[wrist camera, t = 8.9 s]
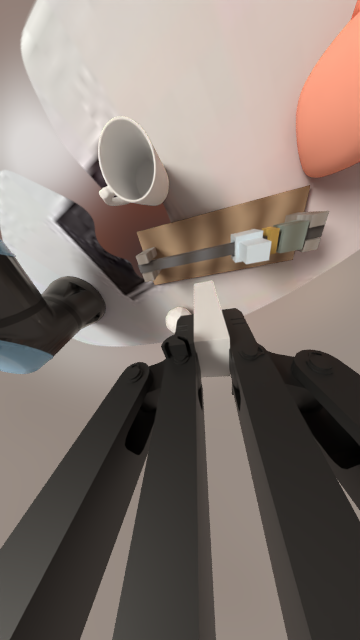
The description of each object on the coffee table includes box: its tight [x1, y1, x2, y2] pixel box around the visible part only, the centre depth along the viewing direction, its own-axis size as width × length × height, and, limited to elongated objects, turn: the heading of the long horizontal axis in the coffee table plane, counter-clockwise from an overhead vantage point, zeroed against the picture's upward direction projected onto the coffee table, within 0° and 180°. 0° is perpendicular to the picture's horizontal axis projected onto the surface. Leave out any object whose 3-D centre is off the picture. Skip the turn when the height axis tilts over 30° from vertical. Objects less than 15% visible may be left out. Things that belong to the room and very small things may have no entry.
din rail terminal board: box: [136, 185, 329, 285], centre depth 27 cm, size 32×12×9 cm, turn 102°
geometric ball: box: [166, 307, 191, 333], centre depth 39 cm, size 8×8×8 cm
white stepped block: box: [231, 229, 272, 264], centre depth 22 cm, size 4×4×8 cm
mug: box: [98, 116, 169, 206], centre depth 21 cm, size 10×7×12 cm, turn 118°
